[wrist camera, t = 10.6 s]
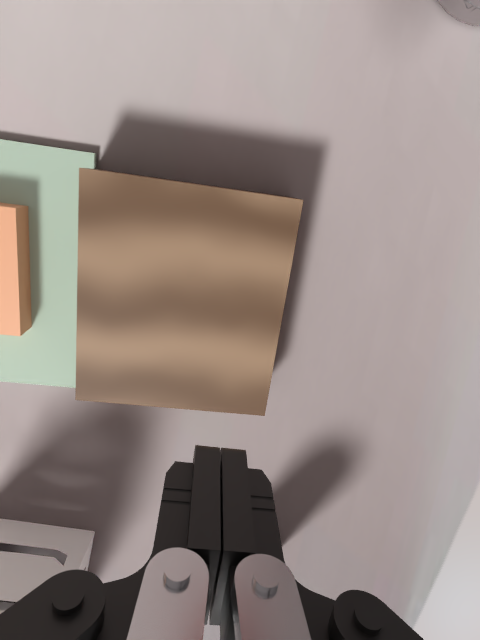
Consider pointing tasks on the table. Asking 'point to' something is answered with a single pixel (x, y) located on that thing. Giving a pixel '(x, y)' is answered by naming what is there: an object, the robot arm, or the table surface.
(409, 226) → the table surface
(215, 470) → the robot arm
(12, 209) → the tile
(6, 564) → the grater
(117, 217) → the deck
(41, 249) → the mat
